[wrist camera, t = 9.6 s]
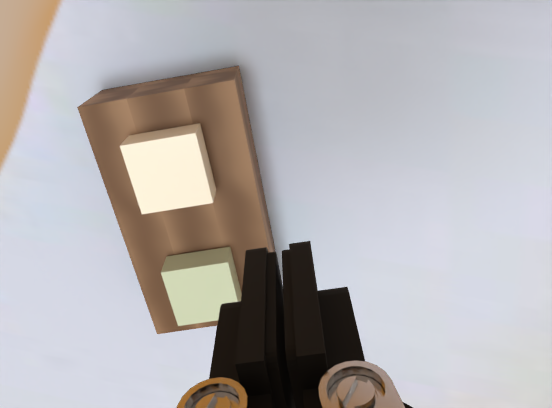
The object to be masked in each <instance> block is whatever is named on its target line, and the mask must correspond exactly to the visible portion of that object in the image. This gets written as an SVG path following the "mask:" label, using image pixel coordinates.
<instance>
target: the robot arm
mask: <svg viewBox="0 0 552 408" xmlns="http://www.w3.org/2000/svg"><path fill="white" fill-rule="evenodd" d="M289 247H290V250H283V251H282V268H283V286H282V281H281V275H280V270H279V265H278V259H277V254H276V252H269V253H268V249H267V247H264V248H257V249H250V250H246V253H245V263H244V274H243V285H242V296H241V301H239V302H231V303H224V304H222V305H221V307H220V312H219V318H218V325H217V331H216V338H215V344H214V351H213V357H212V364H211V371H210V377H209V379H208V380H205V381H202V382H200V383H198V384H196V385H195V386H193V387H192V388H190V389H189V390H188V391H187V392H186V393H185V394H184V395H183V396H182V398H181V400H180V402H179V403H178V405H177V408H413V407H411V406H409V405H407V404H405V403H404V402H402V400H401V398H400V396H399V394H398V392H397V390H396V388H395V386H394V384H393V382H392V380H391V378H390V377H389V376H388V374H387V373H386V372H385V371H384V370H383V369H381V368H380V367H378V366H377V365H374V364H372V363H369V362H365V359H364V355H363V351H362V346H361V342H360V338H359V333H358V329H357V325H356V321H355V316H354V312H353V308H352V304H351V299H350V295H349V291H348V288H347V287H343V288H335V289H328V290H320V291H317V284H316V277H315V271H314V264H313V257H312V251H311V244H310V241H307V242H300V243H293V244H289Z"/></svg>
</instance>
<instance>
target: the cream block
mask: <svg viewBox="0 0 552 408" xmlns="http://www.w3.org/2000/svg"><path fill="white" fill-rule="evenodd" d="M120 149H121V152H122V155H123V158H124V161H125V164H126V167H127V170H128V173H129V176H130V179H131V183H132V186H133V189H134V192H135V195H136V198H137V201H138V204H139V207H140V210H141V213H142V214H148V213H154V212H160V211H167V210H173V209H179V208H185V207H191V206H198V205H204V204H210V203H213V201H214V197H215V193H216V187H215V182H214V178H213V174H212V170H211V166H210V162H209V158H208V154H207V150H206V145H205V141H204V137H203V133H202V129H201V125H200V123H199V124H193V125H187V126H181V127H175V128H169V129H164V130H158V131H152V132H146V133H140V134H134V135H129V136H128V137H127V138H126V139H125V140H124V141H123V143H122V144H121V145H120Z"/></svg>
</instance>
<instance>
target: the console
mask: <svg viewBox="0 0 552 408" xmlns="http://www.w3.org/2000/svg"><path fill="white" fill-rule="evenodd" d="M77 108H78V110H79V113H80V116H81V119H82V122H83V125H84V127H85V130H86V133H87V136H88V139H89V142H90V144H91V147H92V150H93V153H94V156H95V159H96V161H97V164H98V167H99V170H100V173H101V176H102V179H103V181H104V184H105V187H106V190H107V193H108V196H109V198H110V201H111V204H112V207H113V210H114V213H115V215H116V218H117V221H118V224H119V227H120V230H121V233H122V235H123V238H124V241H125V244H126V247H127V250H128V252H129V255H130V258H131V261H132V264H133V267H134V269H135V272H136V275H137V278H138V281H139V284H140V286H141V289H142V292H143V295H144V298H145V301H146V304H147V306H148V309H149V312H150V315H151V318H152V321H153V323H154V326H155V329H156V332H157V334H161V333H168V332H175V331H182V330H189V329H196V328H203V327H209V326H216V325H218V320H217V321H210V322H203V323H196V324H189V325H182V326H178V324H177V321H176V318H175V315H174V312H173V309H172V306H171V303H170V300H169V296H168V293H167V290H166V287H165V284H164V281H163V278H162V275H161V271H162V268H163V265H164V262H165V259H166V257H167V256H173V255H179V254H185V253H192V252H198V251H205V250H211V249H218V248H224V247H230V248H231V252H232V256H233V260H234V265H235V269H236V273H237V277H238V281H239V285H240V289H241V293H242V285H243V274H244V263H245V253H246V250H250V249H257V248H264V247H267V249H268V253H269V252H275V247H274V242H273V237H272V232H271V227H270V222H269V217H268V212H267V206H266V201H265V196H264V191H263V186H262V181H261V176H260V171H259V166H258V161H257V156H256V151H255V146H254V141H253V136H252V130H251V125H250V120H249V115H248V110H247V105H246V100H245V95H244V90H243V85H242V80H241V75H240V70H239V66H235V67H230V68H224V69H218V70H213V71H207V72H201V73H196V74H190V75H184V76H179V77H173V78H168V79H162V80H156V81H151V82H145V83H139V84H134V85H128V86H122V87H117V88H111V89H105V90H102V91H100V92H99V93H97V94H96V95H94V96H93V97H92V98H90V99H89V100H87V101H86V102H84V103H83V104H82V105H80V106H79V107H77ZM199 123H200V125H201V129H202V133H203V137H204V141H205V145H206V150H207V154H208V158H209V162H210V166H211V170H212V174H213V178H214V182H215V187H216V193H215V197H214V201H213V203H210V204H204V205H198V206H191V207H185V208H179V209H173V210H167V211H160V212H154V213H148V214H142V213H141V210H140V207H139V204H138V201H137V198H136V195H135V192H134V189H133V186H132V183H131V179H130V176H129V173H128V170H127V167H126V164H125V161H124V158H123V155H122V152H121V149H120V145H121V144H122V143H123V141H124V140H125V139H126V138H127V137H128V136H129V135H134V134H140V133H146V132H152V131H158V130H164V129H169V128H175V127H181V126H187V125H193V124H199Z"/></svg>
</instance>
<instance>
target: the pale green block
mask: <svg viewBox="0 0 552 408" xmlns="http://www.w3.org/2000/svg"><path fill="white" fill-rule="evenodd" d="M161 275H162V278H163V281H164V284H165V287H166V290H167V293H168V296H169V300H170V303H171V306H172V309H173V312H174V315H175V318H176V321H177V324H178V326H182V325H189V324H196V323H203V322H210V321H217V320H218V318H219V312H220V307H221V305H222V304H224V303H231V302H239V301H241V296H242V293H241V289H240V285H239V281H238V277H237V273H236V269H235V265H234V260H233V256H232V252H231V248H230V247H224V248H218V249H211V250H205V251H198V252H192V253H185V254H179V255H173V256H167V257H166V259H165V262H164V265H163V268H162V271H161Z"/></svg>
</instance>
